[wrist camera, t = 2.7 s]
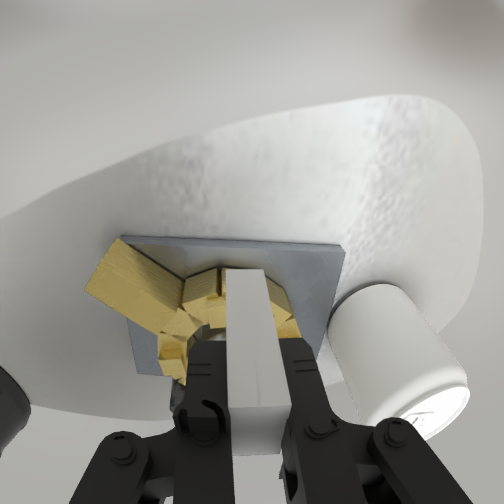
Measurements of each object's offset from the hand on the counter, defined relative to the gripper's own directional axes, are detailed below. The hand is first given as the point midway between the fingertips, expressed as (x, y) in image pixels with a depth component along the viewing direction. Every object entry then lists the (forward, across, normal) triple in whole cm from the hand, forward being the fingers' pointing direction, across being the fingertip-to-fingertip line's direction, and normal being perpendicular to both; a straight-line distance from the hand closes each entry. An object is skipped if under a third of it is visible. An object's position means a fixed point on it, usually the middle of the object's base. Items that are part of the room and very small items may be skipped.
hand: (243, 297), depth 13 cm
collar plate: (+9, -1, -8) cm, 12 cm away
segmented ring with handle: (+8, -3, -6) cm, 11 cm away
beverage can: (+10, +12, -9) cm, 18 cm away
